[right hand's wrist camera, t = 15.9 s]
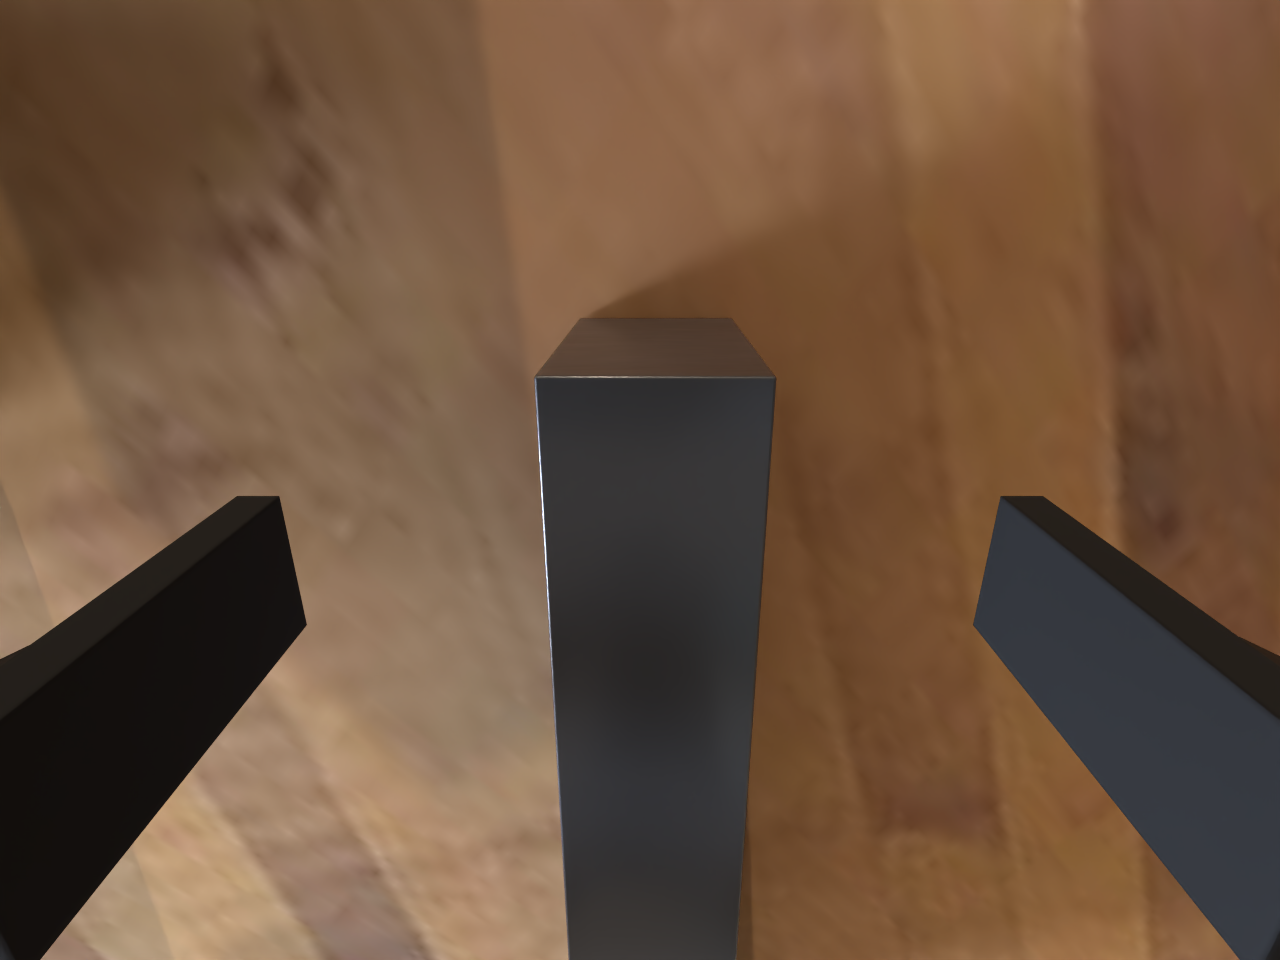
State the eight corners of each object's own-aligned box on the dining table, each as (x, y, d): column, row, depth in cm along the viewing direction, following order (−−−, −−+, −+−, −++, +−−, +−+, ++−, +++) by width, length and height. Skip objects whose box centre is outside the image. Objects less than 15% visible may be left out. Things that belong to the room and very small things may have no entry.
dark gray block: (702, 996, 31) (716, 1246, 23) (602, 994, 31) (585, 1242, 23) (732, 317, 20) (776, 376, 13) (579, 318, 20) (533, 376, 13)
